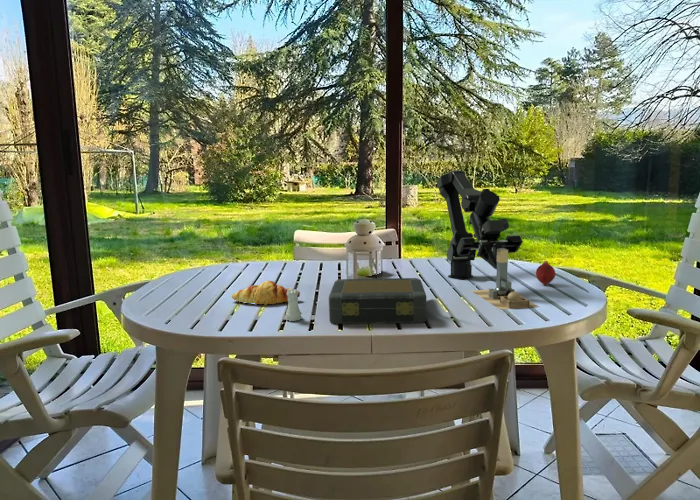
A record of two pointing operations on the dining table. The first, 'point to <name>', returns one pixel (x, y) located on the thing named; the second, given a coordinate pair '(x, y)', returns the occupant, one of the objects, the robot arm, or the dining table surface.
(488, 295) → the base
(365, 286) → the cash box
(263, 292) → the croissant
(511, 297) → the beige ball
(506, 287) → the lever
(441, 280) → the dining table surface
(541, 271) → the onion
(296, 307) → the rook chess piece
